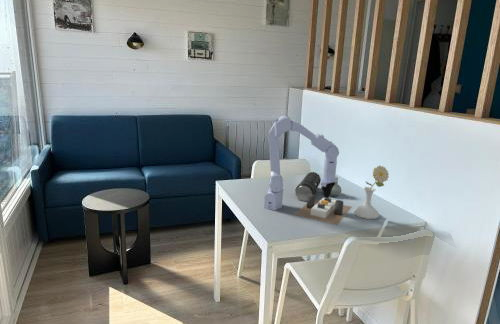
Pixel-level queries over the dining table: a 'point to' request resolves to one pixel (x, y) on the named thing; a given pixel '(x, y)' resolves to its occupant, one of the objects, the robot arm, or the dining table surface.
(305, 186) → the muzzle brake
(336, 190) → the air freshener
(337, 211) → the post
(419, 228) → the dining table surface
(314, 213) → the breaker panel
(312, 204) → the post
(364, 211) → the flower in vase
